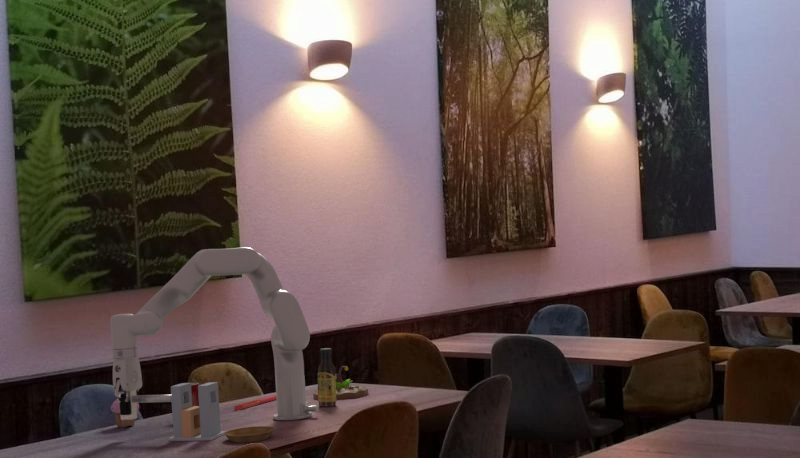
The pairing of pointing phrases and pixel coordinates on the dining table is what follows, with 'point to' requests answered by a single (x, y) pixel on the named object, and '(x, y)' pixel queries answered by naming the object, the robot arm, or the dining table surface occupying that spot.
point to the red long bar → (255, 402)
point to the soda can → (195, 394)
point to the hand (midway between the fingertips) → (128, 413)
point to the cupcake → (119, 422)
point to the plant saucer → (249, 434)
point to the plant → (346, 388)
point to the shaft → (140, 399)
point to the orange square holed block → (191, 421)
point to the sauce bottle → (326, 379)
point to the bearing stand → (206, 409)
